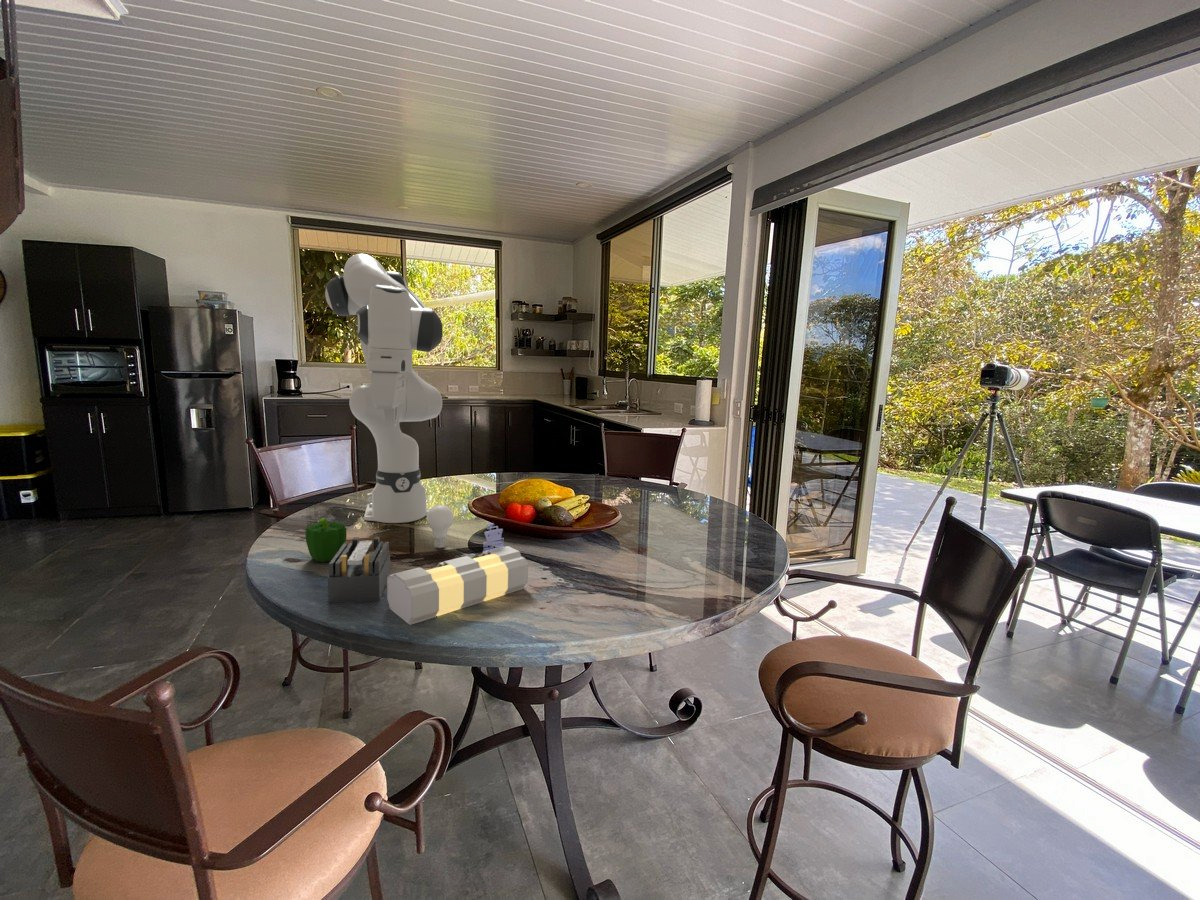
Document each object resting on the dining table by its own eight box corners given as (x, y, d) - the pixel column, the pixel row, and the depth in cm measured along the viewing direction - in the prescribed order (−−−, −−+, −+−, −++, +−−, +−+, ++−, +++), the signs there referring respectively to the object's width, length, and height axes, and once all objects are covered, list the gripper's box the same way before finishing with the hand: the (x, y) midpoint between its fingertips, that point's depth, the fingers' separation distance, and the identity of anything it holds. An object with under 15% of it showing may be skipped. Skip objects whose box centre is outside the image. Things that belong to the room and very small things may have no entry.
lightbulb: (445, 553, 127) (445, 509, 126) (421, 550, 129) (421, 507, 127) (457, 545, 134) (458, 503, 132) (434, 542, 135) (434, 500, 133)
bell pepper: (323, 550, 126) (322, 509, 124) (353, 554, 124) (353, 513, 122) (296, 562, 117) (294, 519, 116) (328, 567, 116) (327, 523, 114)
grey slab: (360, 544, 111) (360, 539, 111) (373, 544, 111) (373, 539, 111) (347, 565, 100) (347, 560, 100) (361, 564, 100) (361, 559, 100)
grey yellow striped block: (499, 576, 117) (500, 518, 115) (527, 591, 110) (529, 530, 108) (387, 608, 99) (386, 541, 97) (412, 628, 92) (412, 556, 90)
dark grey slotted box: (344, 575, 112) (344, 537, 110) (390, 574, 114) (389, 536, 112) (328, 602, 99) (327, 559, 98) (379, 600, 101) (378, 558, 100)
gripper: (383, 362, 123) (383, 421, 125) (365, 362, 103) (366, 432, 105) (411, 363, 125) (412, 422, 127) (399, 363, 105) (400, 432, 107)
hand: (391, 426), depth 116 cm, fingers closed
